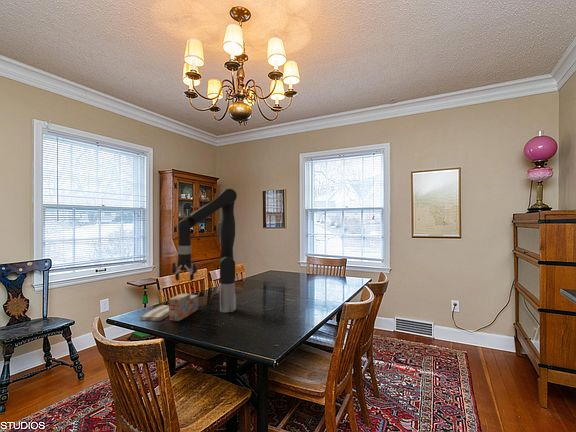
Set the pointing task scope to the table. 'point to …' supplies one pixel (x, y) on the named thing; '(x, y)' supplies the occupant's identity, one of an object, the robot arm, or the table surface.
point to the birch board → (156, 313)
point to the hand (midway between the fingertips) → (184, 280)
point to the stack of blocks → (182, 306)
